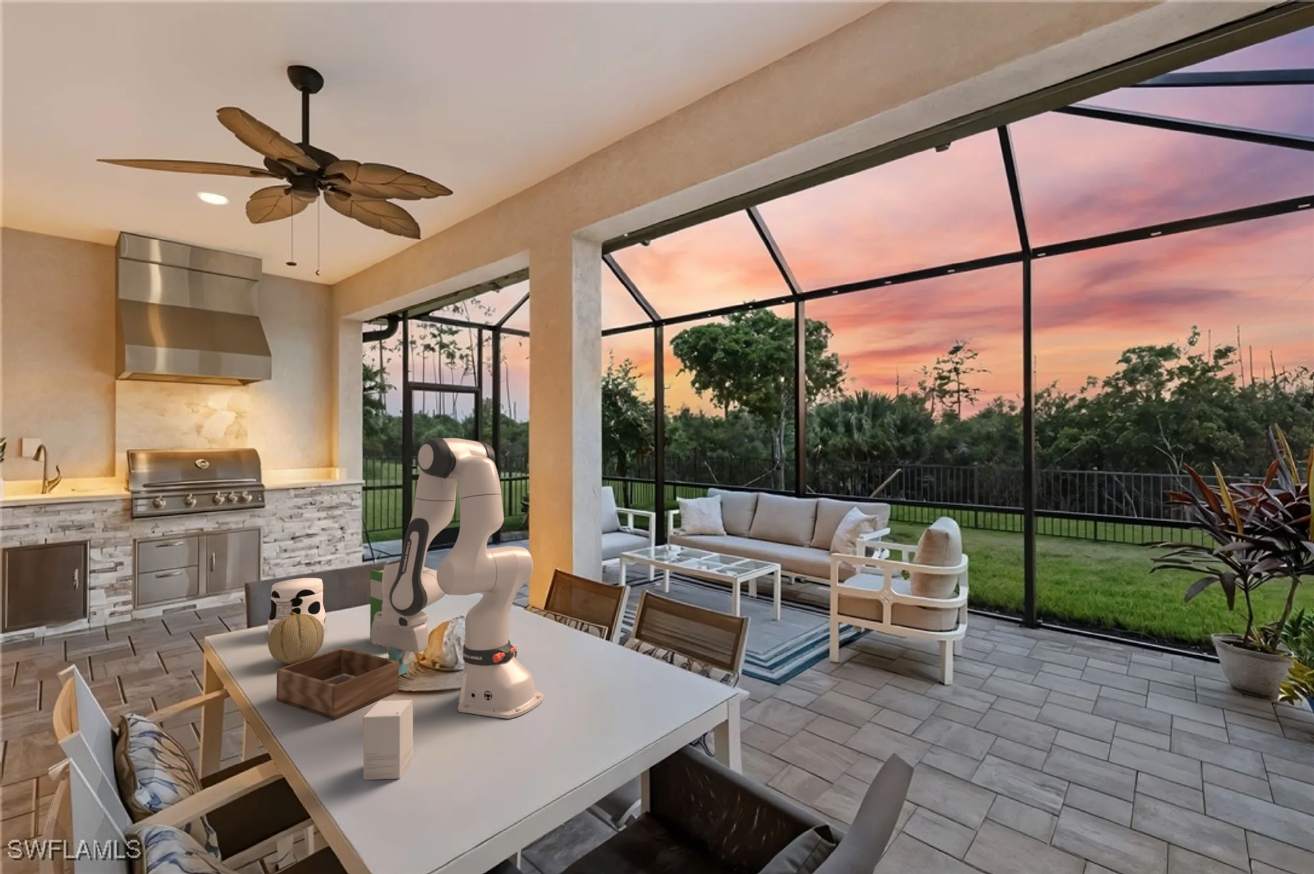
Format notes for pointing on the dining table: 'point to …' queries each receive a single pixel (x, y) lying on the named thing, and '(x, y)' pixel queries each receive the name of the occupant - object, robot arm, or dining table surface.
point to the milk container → (296, 600)
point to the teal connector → (398, 659)
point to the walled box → (337, 682)
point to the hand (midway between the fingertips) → (398, 662)
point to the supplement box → (388, 739)
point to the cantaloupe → (295, 638)
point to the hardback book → (375, 595)
